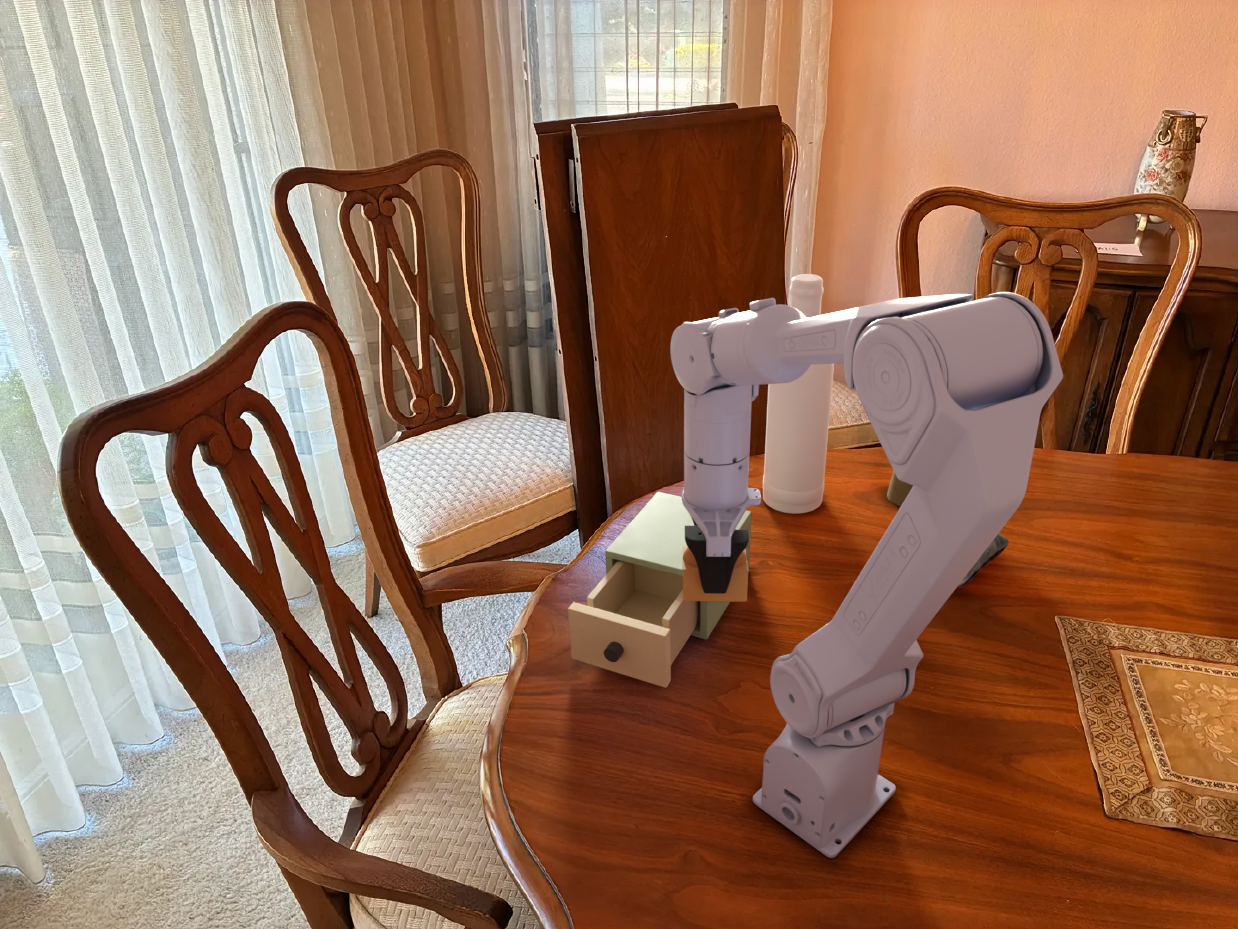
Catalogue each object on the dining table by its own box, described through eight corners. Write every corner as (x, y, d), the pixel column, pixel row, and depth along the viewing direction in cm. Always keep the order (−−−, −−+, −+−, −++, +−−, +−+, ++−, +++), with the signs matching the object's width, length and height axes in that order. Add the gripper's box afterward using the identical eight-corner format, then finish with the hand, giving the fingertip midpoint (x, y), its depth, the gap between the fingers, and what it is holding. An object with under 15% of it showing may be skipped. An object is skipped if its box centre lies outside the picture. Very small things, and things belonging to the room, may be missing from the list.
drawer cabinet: (706, 640, 89) (707, 576, 86) (608, 612, 94) (604, 550, 90) (749, 570, 100) (751, 511, 96) (658, 548, 105) (657, 491, 101)
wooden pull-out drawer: (661, 696, 81) (660, 644, 78) (565, 666, 85) (561, 615, 82) (712, 613, 92) (713, 565, 89) (625, 590, 96) (624, 543, 93)
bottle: (751, 503, 113) (760, 281, 99) (778, 479, 119) (791, 265, 105) (806, 521, 109) (825, 291, 95) (832, 495, 115) (853, 273, 100)
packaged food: (888, 571, 99) (894, 535, 96) (940, 530, 106) (946, 496, 104) (960, 604, 93) (967, 567, 91) (1009, 559, 100) (1017, 523, 98)
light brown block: (744, 576, 84) (745, 533, 81) (746, 601, 80) (748, 557, 78) (682, 576, 84) (682, 533, 82) (682, 601, 81) (682, 557, 78)
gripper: (770, 491, 68) (762, 626, 75) (756, 414, 81) (750, 535, 88) (681, 491, 69) (682, 625, 75) (681, 415, 82) (681, 535, 88)
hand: (714, 577), depth 82 cm, fingers closed on light brown block, 4 cm apart
